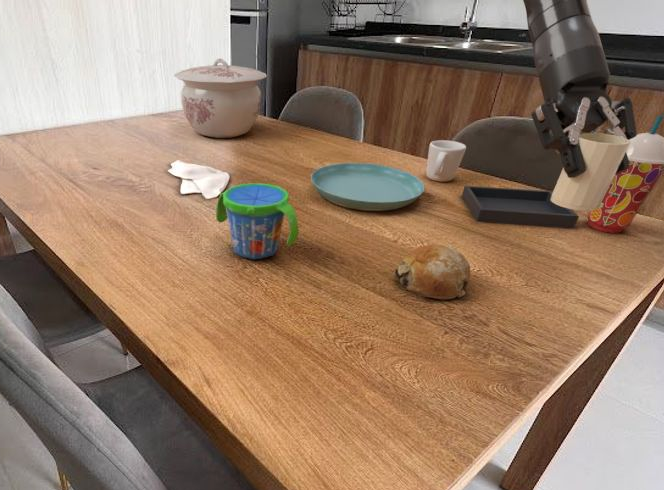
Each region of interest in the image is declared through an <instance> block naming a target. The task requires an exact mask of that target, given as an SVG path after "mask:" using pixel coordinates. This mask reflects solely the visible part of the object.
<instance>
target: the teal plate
mask: <svg viewBox="0 0 664 490" xmlns="http://www.w3.org/2000/svg"><path fill="white" fill-rule="evenodd" d="M310 180H311V183H312V185H313V187H314V189H315V190H316V192H317V193H318V194H319V195H320V196H321V197H323V198H324V199H326V200H327V201H329V202H330V203H333V204H335V205H337V206H339V207H340V206H341V207H343V208H347V209H352V210H356V211H364V212H365V211H366V212H386V211H393V210H398V209H401V208H403V207H406V206H408V205H410V204H412V203H413V202H415V201H416V200H417V199H419V198H420V197H421V196H422V194H423V193H424V192H425V184H424V182H423V181H422V180H421V179H420V178H419V177H417V176H415V175H413V174H412V173H409V172H407V171H404V170H401V169H398V168H394V167H390V166H387V165H381V164H374V163H365V162H361V163H360V162H342V163H334V164H329V165H325V166H321V167H318V168H317V169H315V170H314V171H313V172H312V173H311V175H310Z"/></svg>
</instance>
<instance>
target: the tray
mask: <svg viewBox="0 0 664 490" xmlns="http://www.w3.org/2000/svg"><path fill="white" fill-rule="evenodd" d="M552 192H553V190H542V189H524V188H508V187H494V186H493V187H492V186H480V185H479V186H478V185H477V186H476V185H464V187H463V190H462V193H461V199H462V200H463V202H464V204H465V205H466V207H467V208H468V209H469V212H470V213H471V214H472V216H473V218H474V219H475V221H476V222H477V223H478V222H480V223H492V224H507V225H508V224H509V225H521V226H534V227H535V226H536V227H549V228H562V229H563V228H564V229H574V228H575V226H576V225H577V222H578V219H579V217H580V215H578V214H577V213H576V212H575V210H572V209H568V208H564V207H561V206H559V205H556V204H554V203H553V202H552V201H551V200H550V198H551V195H552Z"/></svg>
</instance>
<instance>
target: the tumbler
mask: <svg viewBox="0 0 664 490" xmlns="http://www.w3.org/2000/svg"><path fill="white" fill-rule="evenodd" d="M576 145H580V148H581V151H582V155H583V159H584V162H585V166H586V171H585V172H584V173H582V174H581V175H579V176H577V177H575V178H569V177H568V176H567V174H566V172H565V171H564V166H563V165H562V168H561V171H560V173H559V176H558V178H557V180H556V182H555V185H554V188H553V189H552V195H551V198H550V200H551V201H552V202H553V203H554V204H556V205H559V206H561V207H564V208H568V209H572V210H573V211H580V212H589V211H593V210H596V209H598V207H599V205H600V204H601V202H602V200H603V198H604V196H605V194H606V192H607V190H608V188H609V186H610V184H611V182H612V180H613V177H614V175H615V173H616V171H617V169H618V167H619V165H620V163H621V161H622V159H623V157H624V155H625V153H626V151H627V149H628V147H629V145H630V140H628V139H626V138H623V137H620V136H616V135H611V133H606V134H603V133H590V132H586V133H585V132H580V136H579V141H578V143H577V144H576Z"/></svg>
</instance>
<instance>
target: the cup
mask: <svg viewBox="0 0 664 490" xmlns="http://www.w3.org/2000/svg"><path fill="white" fill-rule="evenodd" d="M466 150H467V146H466V144H464V143H462V142H459V141H455V140H445V139H443V140H442V139H441V140H440V139H439V140H433V141H431V142H430V144H429V146H428V155H427V162H426V170H425V175H426V177H427V178H428V179H430V180H432V181H434V182H439V183H445V182H450V181H453V180H454V179H455V178H456V175H457V173H458V170H459V168H460V165H461V163H462V160H463V157H464V155H465V152H466Z"/></svg>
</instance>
